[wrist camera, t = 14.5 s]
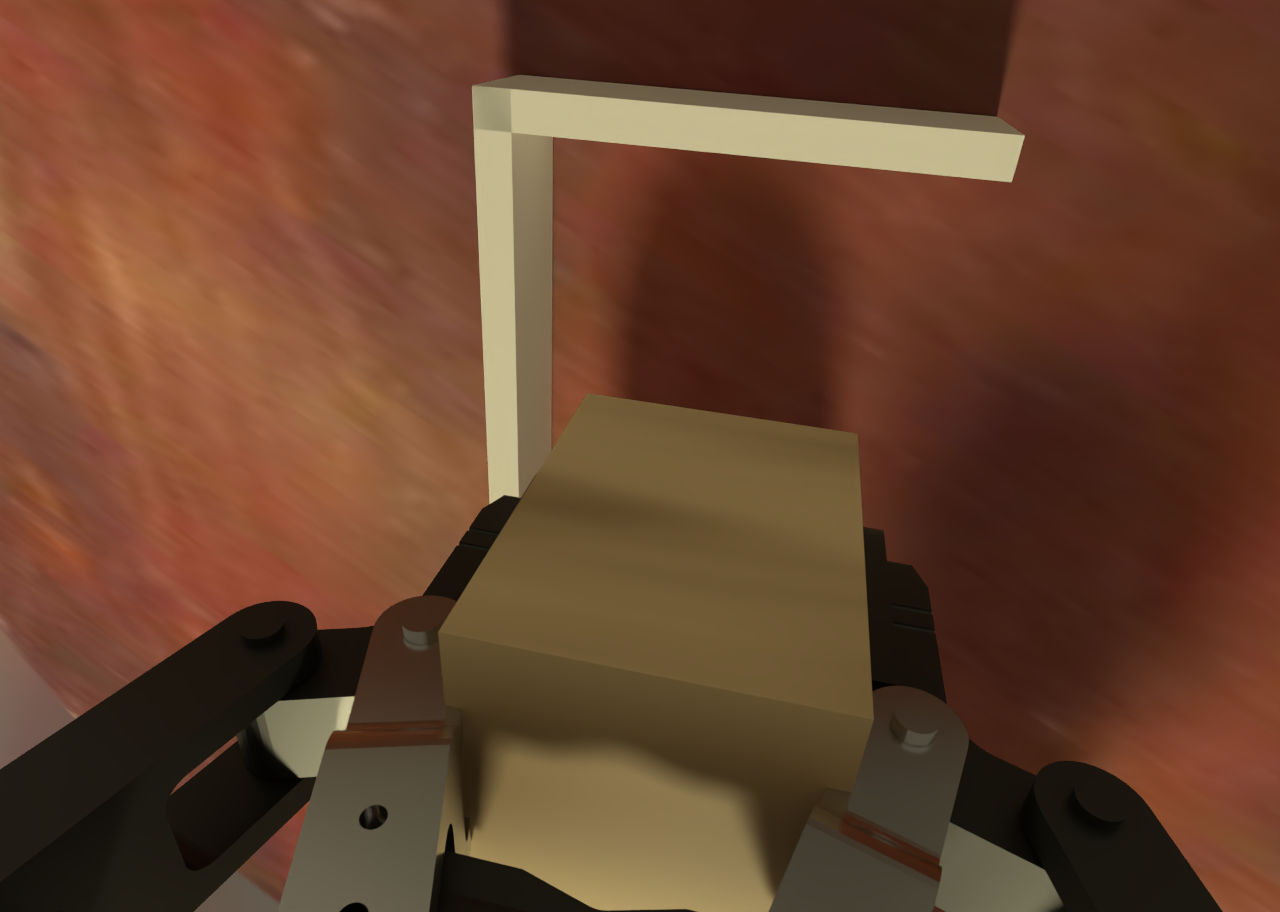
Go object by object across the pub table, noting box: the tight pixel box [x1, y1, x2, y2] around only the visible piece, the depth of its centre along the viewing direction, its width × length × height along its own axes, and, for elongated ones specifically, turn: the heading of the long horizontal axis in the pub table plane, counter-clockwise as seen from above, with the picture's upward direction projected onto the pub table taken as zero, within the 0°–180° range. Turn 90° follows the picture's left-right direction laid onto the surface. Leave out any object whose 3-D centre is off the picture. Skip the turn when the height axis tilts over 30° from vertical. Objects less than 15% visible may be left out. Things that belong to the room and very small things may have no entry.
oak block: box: [438, 393, 874, 912], centre depth 12 cm, size 4×4×6 cm
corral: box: [472, 75, 1025, 504], centre depth 26 cm, size 23×13×4 cm, turn 177°
